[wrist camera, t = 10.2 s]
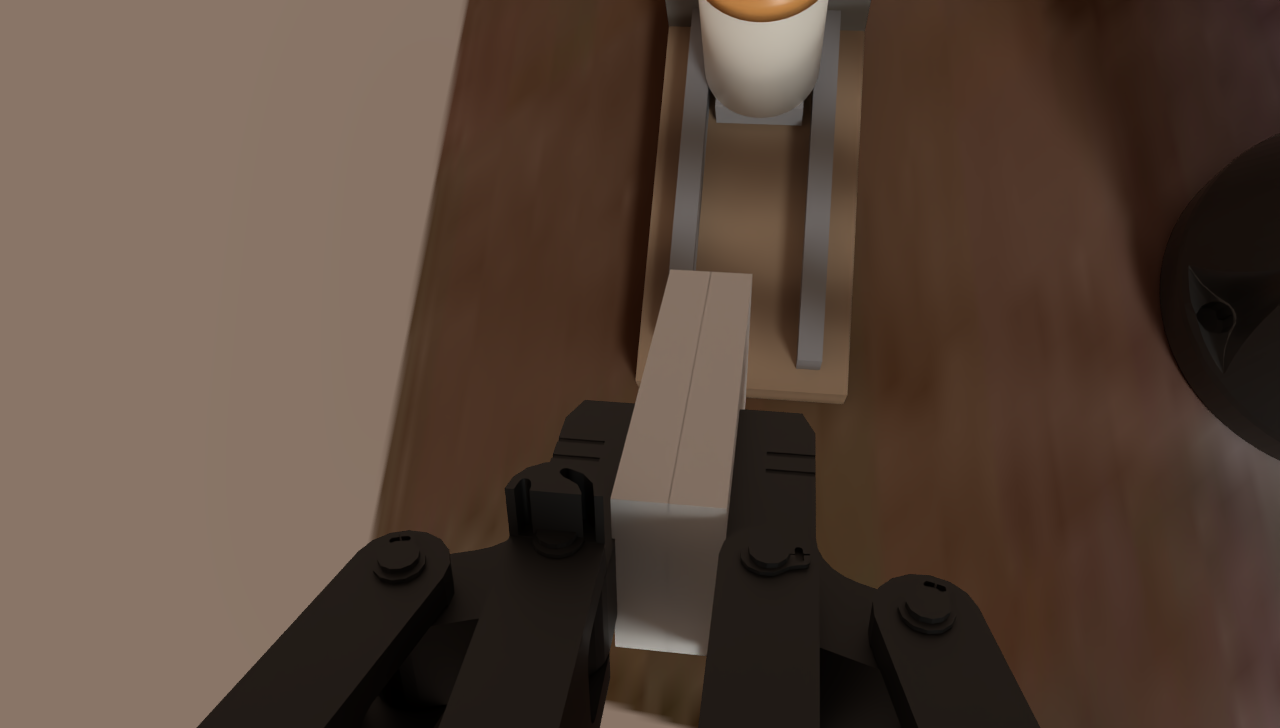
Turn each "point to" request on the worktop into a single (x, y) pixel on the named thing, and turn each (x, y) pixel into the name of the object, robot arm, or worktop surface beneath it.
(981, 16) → the worktop surface
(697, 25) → the knob mount
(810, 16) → the knob
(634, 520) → the robot arm
